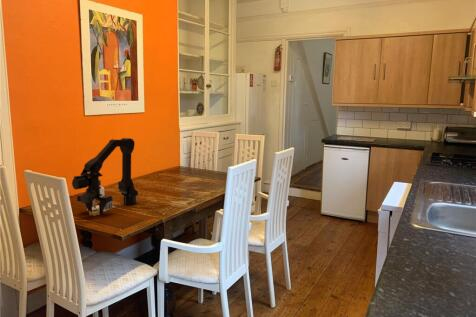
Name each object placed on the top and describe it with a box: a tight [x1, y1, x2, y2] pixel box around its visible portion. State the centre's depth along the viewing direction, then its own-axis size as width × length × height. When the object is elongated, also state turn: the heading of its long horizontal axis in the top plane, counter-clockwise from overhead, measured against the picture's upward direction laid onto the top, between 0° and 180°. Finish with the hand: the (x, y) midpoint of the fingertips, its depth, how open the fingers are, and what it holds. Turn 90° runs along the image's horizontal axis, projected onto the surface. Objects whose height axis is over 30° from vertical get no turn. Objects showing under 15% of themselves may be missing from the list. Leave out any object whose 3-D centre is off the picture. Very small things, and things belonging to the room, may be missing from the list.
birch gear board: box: [86, 200, 116, 212], centre depth 205 cm, size 12×10×5 cm
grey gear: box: [104, 201, 114, 210], centre depth 206 cm, size 6×6×3 cm
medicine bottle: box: [96, 179, 106, 199], centre depth 229 cm, size 7×7×12 cm
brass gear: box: [88, 209, 101, 217], centre depth 195 cm, size 6×6×3 cm
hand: (95, 214), depth 195 cm, fingers closed on brass gear, 6 cm apart
